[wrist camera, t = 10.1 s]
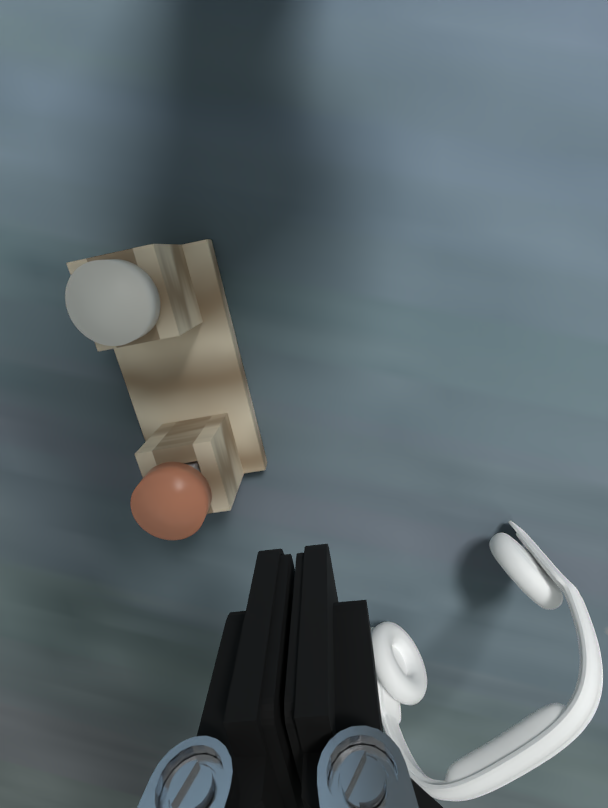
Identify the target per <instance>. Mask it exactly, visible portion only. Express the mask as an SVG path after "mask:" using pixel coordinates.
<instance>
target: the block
mask: <svg viewBox="0 0 608 808" xmlns="http://www.w3.org/2000/svg"><path fill="white" fill-rule="evenodd" d="M109 259H120V260H125V261H129V262H131V263H134V264H135V265H137V266H139V267H140V268H141V269H143V270H144V271H145V272H146V273H147V274H148V275H149V276H150V277H151V279H152V280H153V282H154V284H155V286H156V287H157V290H158V293H159V297H160V314H159V317H158V320H157V322H156V324H155V326H154V327H153V328H152V329H151V331H149V332H148V333H147V334H146V335H144V336H142V337H140V338H138V339H136V340H134V341H132V342H130V343H127V344H124V345H121V346H107V345H102V344H99V343H96V342H95V345H96V348H97V350H98V352H99V351H104V350H109V349H114V351H115V354H116V357H117V360H118V363H119V366H120V369H121V372H122V375H123V377H124V380H125V383H126V386H127V389H128V392H129V395H130V398H131V401H132V404H133V407H134V409H135V412H136V415H137V418H138V421H139V424H140V427H141V430H142V433H143V436H144V439H145V441H146V442H145V443H144V444H143V445H142V446H141V448H140V449H139V450H138V451H137V452H136V453H135V457H136V460H137V463H138V465H139V468H140V471H141V474H142V477H143V478H144V477H145V475H146V474H147V473H148V472H149V471H150V470H151V469H152V468H153V467H155V466H157V465H159V464H161V463H165V462H181V463H188V462H195V461H198V464H199V467H200V470H201V473H202V475H203V476H204V477H205V478H206V479H207V481H208V483H209V485H210V488H211V491H212V501H211V505H210V508H209V510H208V512H207V514H209V513H216V512H223V511H229V510H231V508H232V505H233V502H234V500H235V497H236V494H237V491H238V489H239V486H240V483H241V480H242V477H243V475H244V473H250V472H256V471H263V470H265V469H266V465H267V459H266V455H265V451H264V447H263V443H262V439H261V435H260V431H259V427H258V423H257V419H256V415H255V411H254V407H253V403H252V399H251V395H250V391H249V387H248V384H247V380H246V376H245V372H244V368H243V364H242V360H241V356H240V352H239V348H238V344H237V340H236V336H235V332H234V328H233V324H232V320H231V316H230V312H229V308H228V304H227V300H226V296H225V292H224V288H223V284H222V280H221V276H220V272H219V268H218V264H217V260H216V256H215V252H214V248H213V244H212V240H210V239H205V240H201V241H196V242H192V243H187V244H182V245H177V244H150V245H145V246H141V247H136V248H132V249H127V250H123V251H118V252H114V253H109V254H104V255H100V256H95V257H91V258H86V259H82V260H77V261H73V262H68V263H67V266H68V269H69V272H70V275H72V273H73V272H74V271H75V270H76V269H77V268H78V267H80V266H81V265H83V264H85V263H87V262H90V261H95V260H109Z"/></svg>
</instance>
